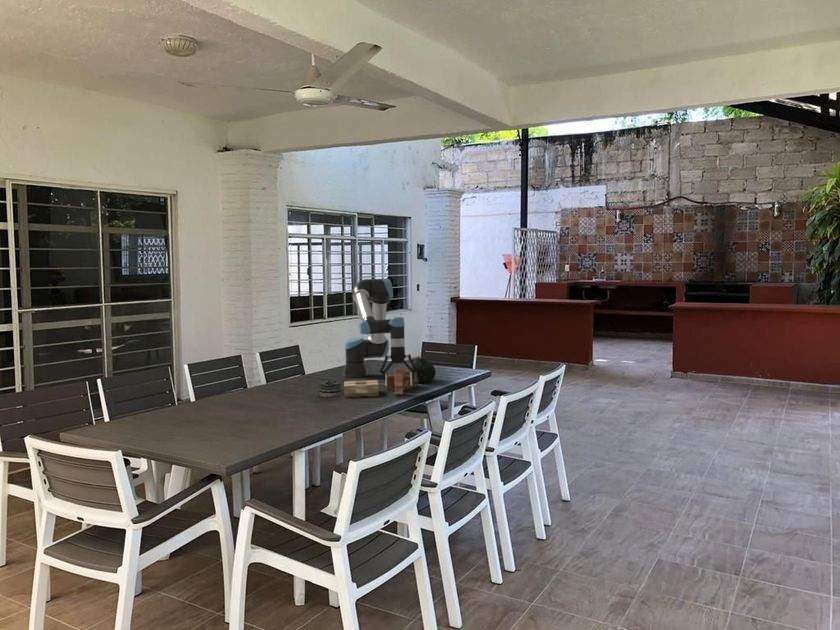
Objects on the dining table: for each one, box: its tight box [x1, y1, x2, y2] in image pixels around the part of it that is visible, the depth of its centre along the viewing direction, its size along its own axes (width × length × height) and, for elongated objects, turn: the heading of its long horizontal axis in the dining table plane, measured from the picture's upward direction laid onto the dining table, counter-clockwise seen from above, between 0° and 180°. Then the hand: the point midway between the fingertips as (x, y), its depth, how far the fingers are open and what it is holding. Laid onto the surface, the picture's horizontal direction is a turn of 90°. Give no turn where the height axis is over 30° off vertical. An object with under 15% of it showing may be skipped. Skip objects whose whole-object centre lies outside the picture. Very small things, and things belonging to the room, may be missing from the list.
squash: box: [411, 357, 437, 384], centre depth 385 cm, size 14×15×15 cm
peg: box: [393, 367, 404, 395], centre depth 352 cm, size 4×4×14 cm
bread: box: [385, 369, 419, 392], centre depth 368 cm, size 19×11×10 cm, turn 147°
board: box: [343, 379, 380, 398], centre depth 354 cm, size 14×18×6 cm
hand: (398, 385), depth 352 cm, fingers open, 13 cm apart
